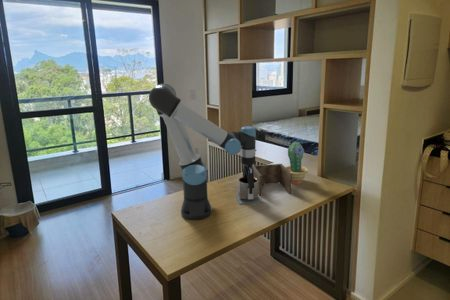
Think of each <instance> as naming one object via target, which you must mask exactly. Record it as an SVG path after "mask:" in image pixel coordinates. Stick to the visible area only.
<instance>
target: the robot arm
mask: <svg viewBox="0 0 450 300" xmlns="http://www.w3.org/2000/svg"><path fill="white" fill-rule="evenodd" d="M148 101H149V104H150V106H151V107H153V109H154V110H155V111H156V113H157V115H158V116H159V117H161V118H162V119H163V121H164V124H165V126H166V129H167V132H168V133H169V135H170V138H171V141H172V142H173V145H174V147H175V150H176V152H177V154H178V157H179V159H180V161H179V163H178V164H179V167H180V170H181V172H182V173H181V174H182V175H181V177H182V187H183V201H182V206H181V208H180V215H181V217H182V218H183V219H186V220H191V221H192V220H193V221H195V220H196V221H197V220H199V221H200V220H204V219H206V218H208V217H210V216H211V214H212V210H213V209H212V205H211V203H210V201H209V198H208V172H207V168H206V165H205V164H204V162H203V160H202V157H201V155H200V154H198V153H197V152H196V150H195V148H194V145H193V143H192V140H191V138H190V135H189V133H188V131H187V127H189V129H192V130H193V131H195V132H197V133H198V134H200V135H201V136H202V137H204V138H206V139H207V140H210V142H212V143H213V144H215V145H217V146H219V147H220V148H222V149H223V150H225V152H226V153H227V154H228V155H231V156H235V155H237V154H239V153H240V155H241V157H240V162H241V164H242V165H243V166H242V177H247V179H248V187H247V188H248V199H253V188H254V175H253V171H254V170H253V167H252V166H253V165H255V164H256V152H257V148H256V143H257V142H256V141H257V140H256V139H257V135H256V134H257V131H256V128H255V126H248V125H247V126H242V127H241V128H240V130H237V131H236V130H235V131H234V130H233V131H226V130H224V129H223V128H221V127H219V126H218V125H217V124H215V123H213V122H212V121H211V120H208V118H206V117H204V116H203V115H201V114H200V113H198V112H196V111H195V110H193V108H190V107H189V106H187V105H186V104H184V103H183V101H182V99H181V98H179V97H178V96H177V92H176V90H175V89H174V87H173V86H171V85H170V84H167V83H160V84H157V85H155V86H154V87H153V88H152V89H151V90H150V92H149V93H148ZM186 126H187V127H186Z"/></svg>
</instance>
